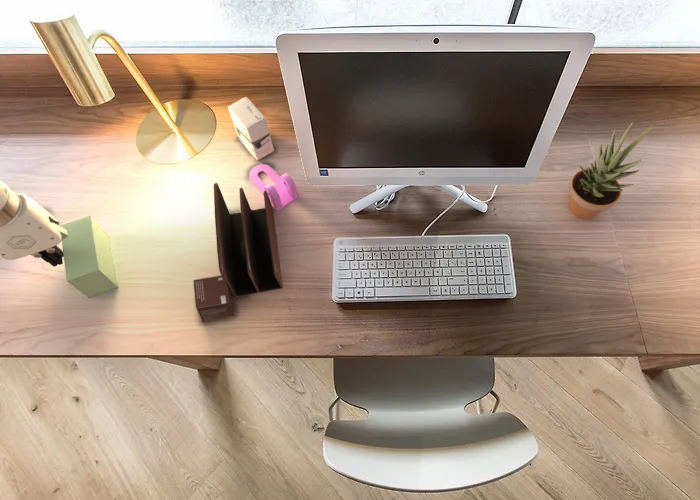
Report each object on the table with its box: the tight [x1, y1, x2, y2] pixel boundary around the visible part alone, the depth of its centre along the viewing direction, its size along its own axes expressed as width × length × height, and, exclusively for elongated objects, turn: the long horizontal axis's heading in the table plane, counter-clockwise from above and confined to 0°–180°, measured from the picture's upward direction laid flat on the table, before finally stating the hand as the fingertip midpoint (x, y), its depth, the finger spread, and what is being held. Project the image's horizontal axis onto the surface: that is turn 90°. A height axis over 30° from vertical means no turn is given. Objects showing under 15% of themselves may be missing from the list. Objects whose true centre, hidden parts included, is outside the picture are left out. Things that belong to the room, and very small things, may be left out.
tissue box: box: [59, 215, 119, 298], centre depth 98 cm, size 6×13×9 cm, turn 22°
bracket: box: [248, 163, 299, 212], centre depth 107 cm, size 13×6×7 cm, turn 39°
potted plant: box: [567, 122, 654, 220], centre depth 94 cm, size 10×10×25 cm
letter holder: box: [213, 182, 284, 298], centre depth 96 cm, size 10×20×14 cm, turn 10°
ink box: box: [227, 96, 275, 161], centre depth 111 cm, size 8×5×12 cm, turn 37°
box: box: [193, 274, 234, 323], centre depth 93 cm, size 6×6×7 cm
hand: (57, 259), depth 95 cm, fingers closed
